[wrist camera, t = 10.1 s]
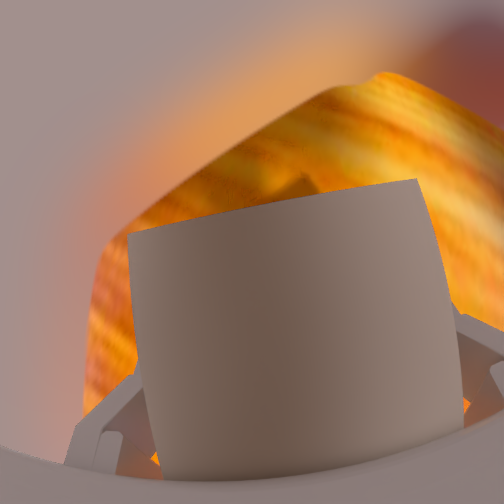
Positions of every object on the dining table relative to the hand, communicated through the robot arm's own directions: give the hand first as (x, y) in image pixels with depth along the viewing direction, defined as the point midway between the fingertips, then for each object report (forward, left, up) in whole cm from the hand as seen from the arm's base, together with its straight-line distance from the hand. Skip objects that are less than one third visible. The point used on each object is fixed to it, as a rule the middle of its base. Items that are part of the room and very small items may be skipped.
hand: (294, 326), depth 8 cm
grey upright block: (0, 0, -5) cm, 5 cm away
